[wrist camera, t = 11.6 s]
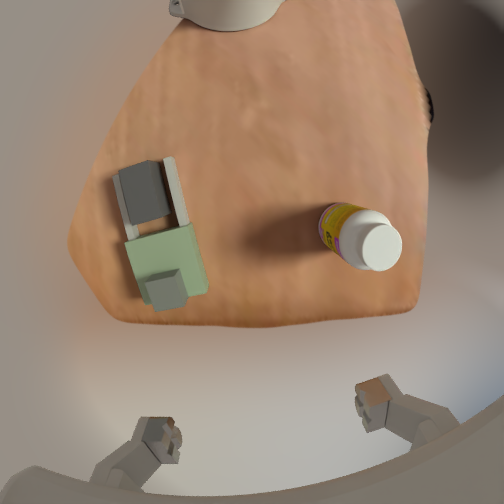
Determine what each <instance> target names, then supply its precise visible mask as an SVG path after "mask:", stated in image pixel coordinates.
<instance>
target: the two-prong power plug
mask: <svg viewBox="0 0 504 504" xmlns="http://www.w3.org/2000/svg"><path fill="white" fill-rule="evenodd" d="M163 161H164V165H165V170H166V174H167V178H168V182H169V187H170V191H171V195H172V199H173V203H174V207H175V211H176V215H177V218H178V222H179V226H176V227H172V228H168V229H164V230H161V231H157V232H153V233H150V234H146V235H142V236H140V234H139V231H138V227H137V225H134V226H132V224H131V221H130V217H129V213H128V209H127V205H126V201H125V197H124V193H123V189H122V184H121V180H120V176H119V174H117V175H114V176H112V178H113V182H114V187H115V191H116V195H117V200H118V204H119V208H120V211H121V215H122V219H123V223H124V226H125V230H126V234H127V237H128V241H127V242H125V243H124V244H125V247H126V250H127V254H128V257H129V260H130V263H131V266H132V269H133V272H134V275H135V278H136V281H137V284H138V287H139V290H140V292H141V295H142V298H143V301H144V303H145V305H149V304H152V305H153V307H154V310H155V312H157V311H163V310H168V309H174V308H179V307H184V306H185V304H186V301H187V299H188V297H190V296H195V295H199V294H204V293H207V290H208V287H209V283H208V279H207V276H206V272H205V269H204V265H203V262H202V258H201V255H200V251H199V247H198V244H197V240H196V236H195V233H194V229H193V225H192V222H191V223H190V221H189V217H188V213H187V209H186V205H185V201H184V197H183V193H182V189H181V185H180V181H179V176H178V172H177V168H176V164H175V159H174V157H171V156H170V157H167V158H164V159H163Z"/></svg>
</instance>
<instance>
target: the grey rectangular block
mask: <svg viewBox="0 0 504 504" xmlns="http://www.w3.org/2000/svg"><path fill="white" fill-rule="evenodd" d="M119 176H120V180H121V184H122V189H123V193H124V197H125V201H126V205H127V209H128V213H129V217H130V221H131V224H132V226H134V225H137V224H140V223H144V222H147V221H151V220H154V219H158V218H161V217H164V216H166V215H168V214H170V213H172V212H171V209H170V205H169V201H168V197H167V193H166V189H165V184H164V180H163V176H162V172H161V167H160V163H158V162H153V161H148V160H147V161H144V162H141V163H138V164H136V165H133V166H130V167H127V168H124V169H122V170H119Z"/></svg>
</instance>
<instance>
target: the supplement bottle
mask: <svg viewBox="0 0 504 504" xmlns="http://www.w3.org/2000/svg"><path fill="white" fill-rule="evenodd" d="M319 234H320V237H321V239H322V241H323V242H324V243H325V244H326V245H327V246H328V247H329V248H330V249H331V250H333V251H334V252H335V253H336V254H338V255H339V256H340V257H341V258H343V259H344V260H345V261H346V262H347V263H349V264H350V265H351V266H353V267H355V268H357V269H361V270H370V269H372V270H375V271H384V270H387V269H389V268H390V267H392V266H393V265H394V264H395V263H396V262H397V260H398V259H399V256H400V254H401V250H402V241H401V237H400V235H399V233H398V231H397V230H396V229H395V228H393V227H392V226H391V224H390V222H389V220H388V219H387V218H386V217H385V216H384V215H383V214H381V213H379V212H377V211H374V210H370V209H367V208H363V207H359V206H356V205H352V204H348V203H336V204H333V205H331V206H330V207H328V208H327V209H326V210H325V211H324V212H323V214H322V216H321V218H320V221H319Z"/></svg>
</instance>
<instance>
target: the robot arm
mask: <svg viewBox="0 0 504 504" xmlns="http://www.w3.org/2000/svg"><path fill="white" fill-rule="evenodd" d="M284 1H285V0H170V5H169V12H170V14H171V15H172V16H175V17H181V18H187V19H189V20H191V21H193V22H194V23H196V24H198V25H200V26H202V27H205V28H208V29H212V30H218V31H238V30H244V29H248V28H252V27H255V26H257V25H260V24H262V23H264V22H265V21H267V20H268V19H270V18H271V17H272V16H273V15H274V14H275V12H276V11H277V9H278V7H279V6H280V4H281V3H282V2H284ZM176 4H179V5H176ZM355 391H356V394H357V396H356V397H355V406H356V410H357V412H358V415H359V416H360V417H362V418H363V419H362V423H363V426H364V428H365V430H366V432H367V433H369V432H372V431H375V430H378V429H381V428H384V427H385V428H386V429H388V430H390V431H391V432H393V433H395V434H397V435H398V436H400V437H402V438H403V439H405V440H407V441H409V442H411V443H412V446H411V449H410V451H409V452H408V453H406V454H404V455H401V456H399V457H396V458H394V459H392V460H389V461H387V462H384V463H382V464H379V465H376V466H374V467H371V468H368V469H365V470H362V471H359V472H356V473H353V474H350V475H346V476H343V477H339V478H336V479H332V480H329V481H325V482H320V483H316V484H312V485H307V486H302V487H298V488H292V489H286V490H281V491H273V492H266V493H257V494H248V495H235V496H207V497H206V496H174V495H161V494H151V493H145V492H144V491H143V490H142V489H141V487H142V485H143V484H144V483H145V482H146V481H147V480H148V479H149V478H150V477H151V476H152V474H153V473H154V472H155V471H156V470H157V469H158V468H159V467H160V466H161V464H178V460H179V455H180V452H179V451H178V449H179V448H180V447H181V445H182V435H181V432H180V430H179V428H178V427H176V426H174V423H175V421H174V420H173V418H172V417H141V418H140V419H139V420H138V423H137V426H136V428H135V431H134V433H133V436H132V439H131V441H127V442H126V443H125V444H123V445H122V446H121V447H120V448H118V449H117V450H115V451H114V452H113V453H111V454H110V455H109V456H107V457H106V458H105V459H103V460H102V461H101V462H99V463H98V464H97V465H96V466H95V469H94V471H93V474H92V476H91V479H90V481H89V482H86V481H82V480H79V479H75V478H71V477H68V476H65V475H62V474H59V473H56V472H53V471H50V470H47V469H45V468H42V467H39V466H31V467H29V468H26V469H24V470H22V471H21V472H19V473H17V474H15V475H13V476H12V477H11V478H10V479H9V481H8V482H7V483H6V485H5V486H4V488H3V490H2V491H1V492H0V504H504V395H502V396H501V397H500V398H499V399H497V400H496V401H495V402H493V403H492V404H490V405H489V406H488V407H486V408H485V409H484V410H482V411H481V412H479V413H478V414H476V415H475V416H473V417H472V418H470V419H469V420H467V421H466V422H464V423H462V424H461V425H460V423H459V422H458V421H457V419H456V418H455V417H454V416H453V414H452V413H451V412H450V410H449V409H448V408H445V407H443V406H439V405H437V404H434V403H431V402H428V401H425V400H422V399H419V398H416V397H413V396H410V395H408V394H405V395H403V394H402V392H401V391H400V390H399V388H398V387H397V385H396V384H395V382H394V381H393V380H392V379H391V377H390V375H389V374H385V375H382V376H379V377H377V378H373V379H370V380H368V381H365V382H362V383H359V384H356V386H355Z"/></svg>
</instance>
